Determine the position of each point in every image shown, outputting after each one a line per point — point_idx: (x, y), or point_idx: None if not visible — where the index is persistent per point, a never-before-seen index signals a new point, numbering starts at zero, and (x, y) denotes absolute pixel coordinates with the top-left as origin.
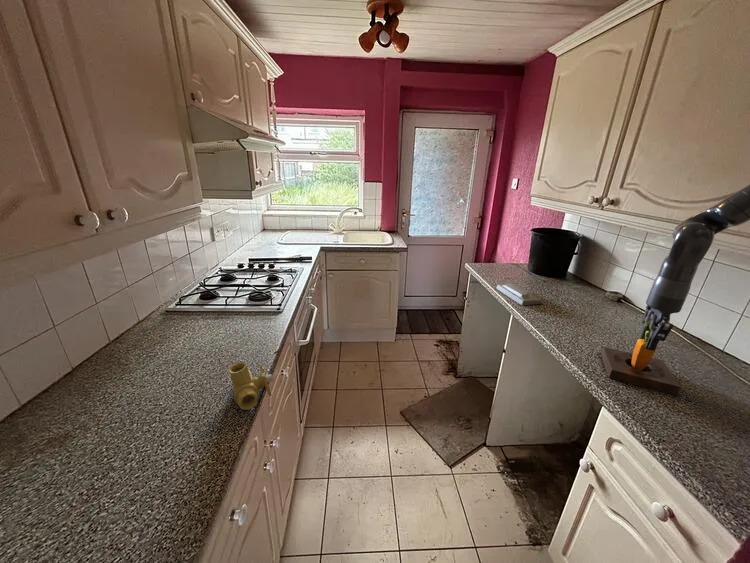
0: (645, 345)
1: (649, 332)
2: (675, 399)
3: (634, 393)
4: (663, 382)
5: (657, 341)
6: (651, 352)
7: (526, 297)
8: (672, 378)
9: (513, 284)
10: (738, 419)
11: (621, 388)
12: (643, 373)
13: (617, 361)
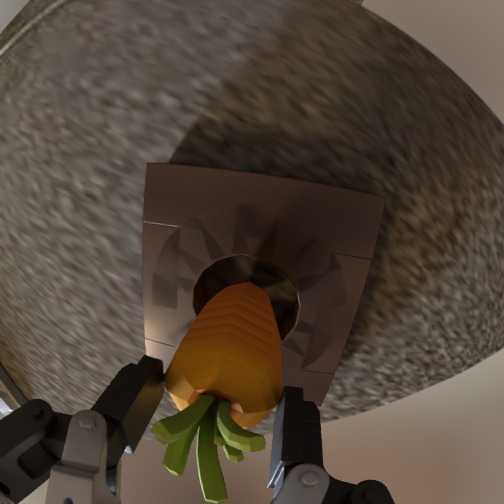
0: (261, 419)
1: (132, 420)
2: (396, 211)
3: (389, 338)
4: (371, 261)
5: (322, 464)
6: (275, 361)
7: (9, 399)
8: (322, 198)
9: None
10: (430, 61)
11: (369, 364)
12: (317, 315)
13: None
